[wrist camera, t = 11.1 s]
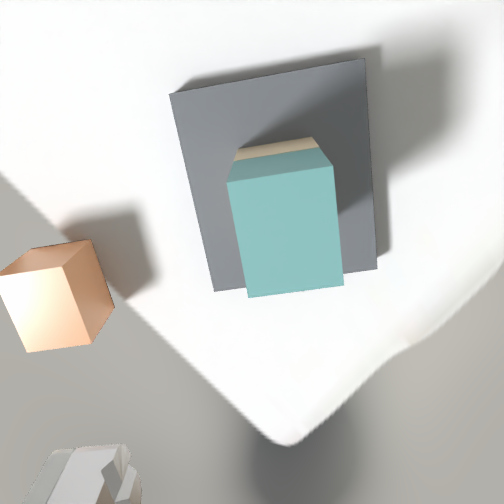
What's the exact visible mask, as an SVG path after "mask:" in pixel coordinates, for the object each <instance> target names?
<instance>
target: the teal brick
mask: <svg viewBox="0 0 504 504" xmlns="http://www.w3.org/2000/svg"><path fill="white" fill-rule="evenodd" d="M226 183H227V188H228V193H229V199H230V204H231V209H232V214H233V220H234V225H235V230H236V235H237V240H238V246H239V251H240V256H241V261H242V267H243V272H244V277H245V282H246V288H247V293H248V298H253V297H260V296H268V295H275V294H283V293H290V292H298V291H305V290H313V289H320V288H328V287H335V286H343V285H344V280H343V269H342V258H341V247H340V236H339V225H338V214H337V203H336V192H335V181H334V170H333V165H332V164H331V162H330V161H329V160H328V158H327V157H326V156H325V154H324V153H323V152H322V150H321V149H320V148H313V149H306V150H300V151H294V152H288V153H282V154H275V155H269V156H263V157H257V158H251V159H245V160H238V161H233V164H232V167H231V170H230V173H229V176H228V179H227V182H226Z"/></svg>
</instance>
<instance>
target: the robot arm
mask: <svg viewBox="0 0 504 504" xmlns="http://www.w3.org/2000/svg"><path fill="white" fill-rule="evenodd" d="M130 459H131V454H130V451H129V449H128V447H127V445H126V444H114V445H101V446H90V447H89V446H88V447H78V448H71V449H58V450H55V451H54V452H53V453H51V454H50V455H49V457H48V458H47V460H46V462H45V464H44V466H43V468H42V469H41V471H40V473H39V475H38V476H37V478H36V480H35V482H34V484H33V485H32V487H31V489H30V491H29V492H28V494H27V496H26V498H25V500H24V502H23V503H22V504H141V497H142V488H141V481H140V477H139V475H138V472H137V471H136V470H135V469H134V468H132V467H131V466H129V462H130Z"/></svg>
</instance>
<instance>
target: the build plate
mask: <svg viewBox="0 0 504 504" xmlns="http://www.w3.org/2000/svg"><path fill="white" fill-rule="evenodd" d="M169 97H170V101H171V106H172V110H173V114H174V119H175V123H176V127H177V132H178V136H179V140H180V145H181V149H182V153H183V158H184V162H185V166H186V171H187V175H188V180H189V184H190V188H191V193H192V197H193V201H194V206H195V210H196V214H197V219H198V223H199V227H200V232H201V236H202V240H203V245H204V249H205V253H206V258H207V262H208V266H209V271H210V275H211V280H212V284H213V288H214V292H216V291H223V290H231V289H238V288H245V287H246V282H245V277H244V272H243V267H242V261H241V256H240V251H239V246H238V240H237V235H236V230H235V225H234V220H233V214H232V209H231V204H230V199H229V193H228V188H227V183H226V182H227V179H228V176H229V173H230V170H231V167H232V164H233V161H238V160H245V159H251V158H257V157H263V156H269V155H275V154H282V153H288V152H294V151H300V150H306V149H313V148H320V149H321V150H322V152H323V153H324V154H325V156H326V157H327V158H328V160H329V161H330V162H331V164H332V165H333V170H334V181H335V192H336V203H337V214H338V225H339V236H340V247H341V258H342V269H343V274H345V273H353V272H360V271H367V270H374V269H377V254H376V238H375V221H374V205H373V189H372V172H371V156H370V139H369V123H368V106H367V90H366V73H365V58H362V59H356V60H351V61H345V62H340V63H334V64H329V65H323V66H318V67H312V68H307V69H301V70H296V71H290V72H285V73H280V74H274V75H269V76H263V77H258V78H252V79H247V80H241V81H236V82H230V83H225V84H219V85H214V86H209V87H203V88H198V89H192V90H187V91H181V92H176V93H171V94H169Z"/></svg>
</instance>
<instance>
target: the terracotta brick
mask: <svg viewBox="0 0 504 504" xmlns="http://www.w3.org/2000/svg"><path fill="white" fill-rule="evenodd" d="M0 294H1V296H2V298H3V301H4V303H5V305H6V307H7V309H8V311H9V314H10V316H11V318H12V320H13V323H14V325H15V327H16V329H17V331H18V333H19V336H20V338H21V340H22V342H23V344H24V346H25V348H26V351H27V352H35V351H43V350H49V349H56V348H64V347H71V346H78V345H85V344H92V342H93V341H94V339H95V338H96V335H98V333H99V331H100V330H101V328H102V327H103V325H104V324H105V322H106V320H107V319H108V317H109V316H110V314H111V313H112V311H113V309H114V308H115V306H114V303H113V300H112V297H111V294H110V291H109V289H108V286H107V283H106V281H105V279H104V276H103V273H102V270H101V267H100V264H99V262H98V259H97V256H96V253H95V250H94V247H93V244H92V241H91V239H88V240H82V241H76V242H68V243H62V244H56V245H49V246H44V247H37V248H32V249H30V250H29V251H27V252H26V253H25V254H24V255H22V256H21V257H19V258H18V259H17V260H15V261H14V262H13V263H12V264H10V265H9V266H7V267H6V268H5V269H3V270H2V271H1V272H0Z"/></svg>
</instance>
